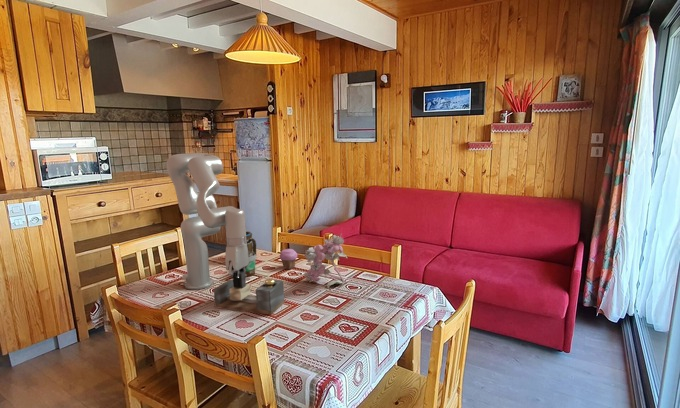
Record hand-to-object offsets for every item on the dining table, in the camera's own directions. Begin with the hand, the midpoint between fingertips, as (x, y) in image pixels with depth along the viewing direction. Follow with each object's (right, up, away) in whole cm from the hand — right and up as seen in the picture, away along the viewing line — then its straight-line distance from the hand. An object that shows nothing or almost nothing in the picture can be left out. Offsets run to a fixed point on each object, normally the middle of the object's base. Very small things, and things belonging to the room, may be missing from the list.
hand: (239, 284), depth 154 cm
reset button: (+13, -3, -4) cm, 14 cm away
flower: (+32, -4, +21) cm, 38 cm away
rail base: (+4, -8, 0) cm, 9 cm away
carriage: (0, -5, +1) cm, 5 cm away
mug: (-12, +1, +55) cm, 56 cm away
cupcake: (+14, -1, +44) cm, 46 cm away
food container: (-4, -3, +35) cm, 35 cm away
